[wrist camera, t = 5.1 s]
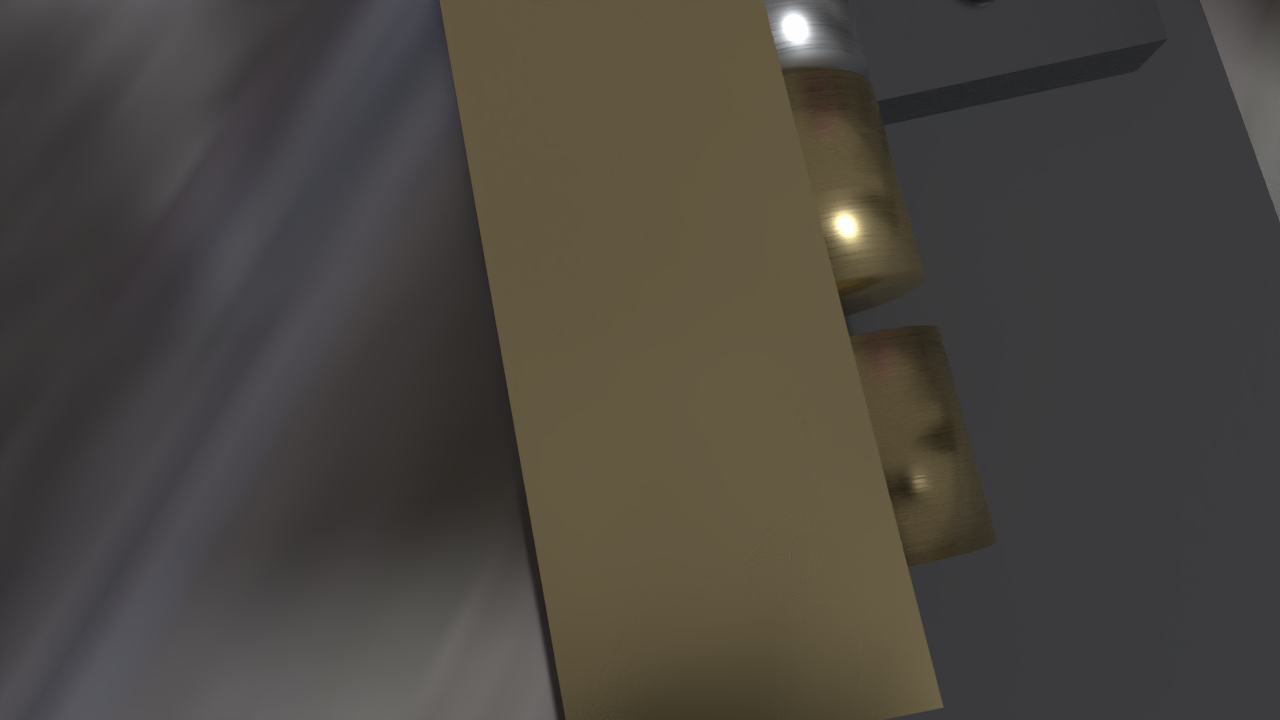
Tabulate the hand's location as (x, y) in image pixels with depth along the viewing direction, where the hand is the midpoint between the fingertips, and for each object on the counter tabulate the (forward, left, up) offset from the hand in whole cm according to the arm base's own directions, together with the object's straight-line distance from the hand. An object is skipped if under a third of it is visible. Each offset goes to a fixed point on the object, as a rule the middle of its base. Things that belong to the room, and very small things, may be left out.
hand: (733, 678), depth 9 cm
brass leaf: (+2, -4, -7) cm, 8 cm away
